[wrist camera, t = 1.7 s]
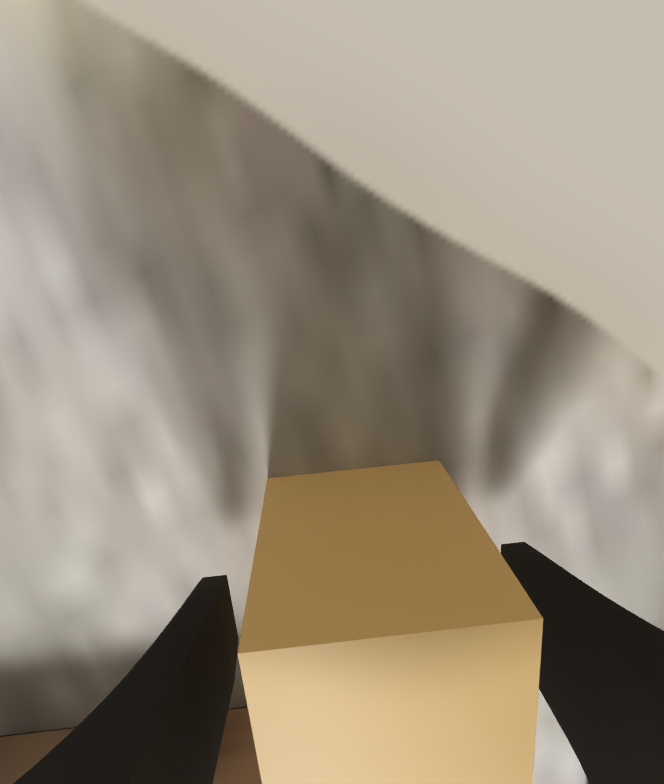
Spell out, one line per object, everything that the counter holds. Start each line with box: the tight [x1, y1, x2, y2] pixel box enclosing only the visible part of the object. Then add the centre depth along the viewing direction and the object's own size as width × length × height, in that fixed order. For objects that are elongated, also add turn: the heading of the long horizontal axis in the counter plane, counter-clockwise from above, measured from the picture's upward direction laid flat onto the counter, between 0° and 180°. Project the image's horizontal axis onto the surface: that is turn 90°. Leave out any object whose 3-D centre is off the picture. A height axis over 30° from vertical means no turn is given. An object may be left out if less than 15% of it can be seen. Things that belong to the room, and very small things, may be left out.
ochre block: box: [238, 460, 543, 784], centre depth 11 cm, size 5×5×6 cm
